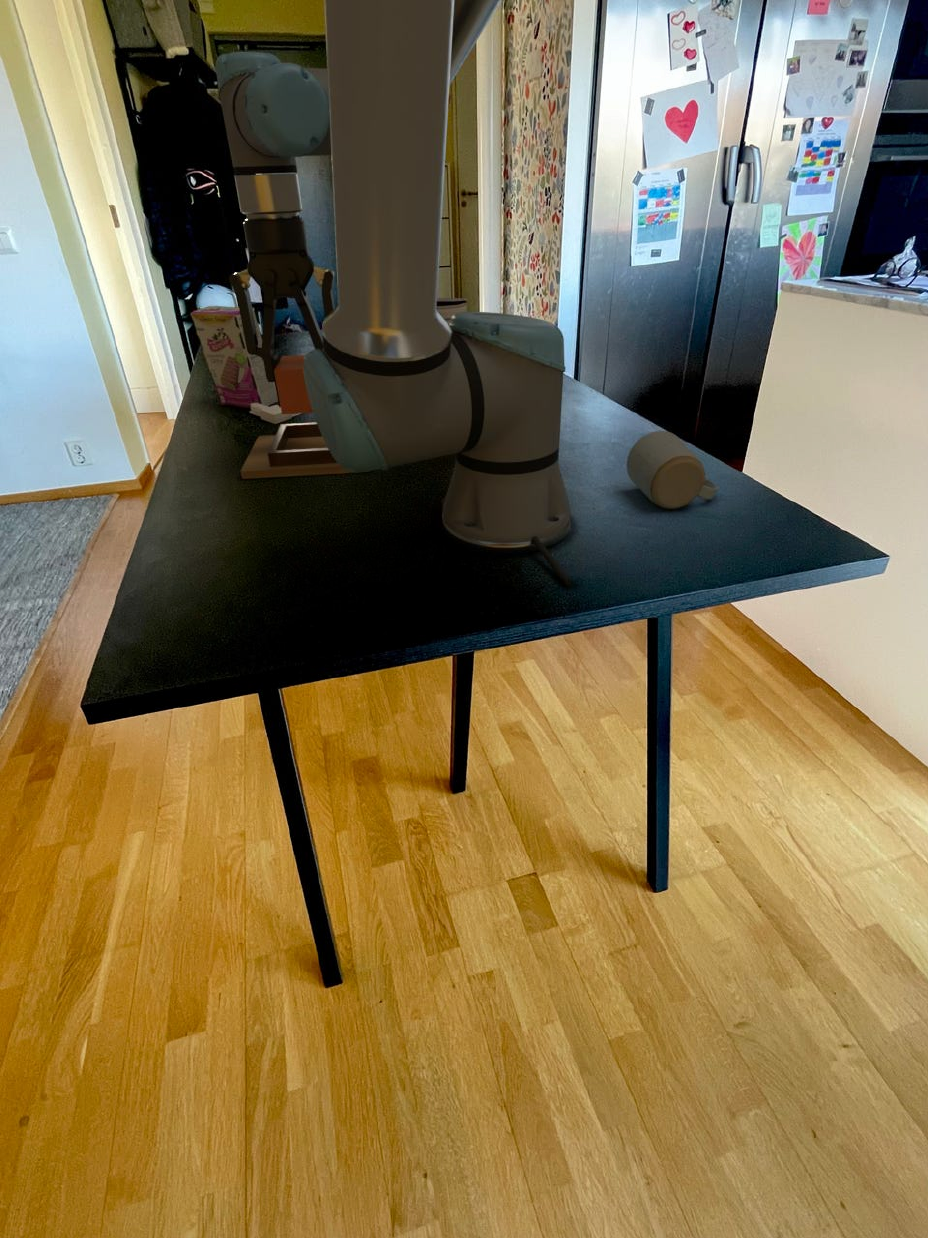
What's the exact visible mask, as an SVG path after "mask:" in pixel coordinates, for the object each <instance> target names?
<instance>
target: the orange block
mask: <svg viewBox="0 0 928 1238" xmlns="http://www.w3.org/2000/svg"><path fill="white" fill-rule="evenodd" d="M305 355H306V354H297V355H295V354H293V355H292V354H291V355H282V356H281V357H280V361H279V363H278V365H277V366H276V368H275V370H274V373H275V379H276V384H277V390H278V395H279V401H280V406H281V412H282V414H298V413H302V414H314V413H313V410H312V407H311V404H310V400H309V397H308V393H307V389H306V384H305V379H304V373H303V363H304V357H305Z"/></svg>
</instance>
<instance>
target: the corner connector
mask: <svg viewBox="0 0 928 1238" xmlns="http://www.w3.org/2000/svg"><path fill="white" fill-rule="evenodd" d="M250 405H251V408H250V411H248V412H249V413H250V414H252V415H255V416H258V417H260V419H261V420H263V421H266V422H269V423H271V424H274V425H276V424H279V423H280V424H281V423H282V422H285V421H289V420H291V419H292V417H295V416H298V415H301V414H303V413H298V414H282V412H281V407H279V404H274V405H272V406H270V407H268V406H265V405H262V404H259V403H252V404H250Z"/></svg>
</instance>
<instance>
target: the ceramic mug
mask: <svg viewBox="0 0 928 1238" xmlns="http://www.w3.org/2000/svg"><path fill="white" fill-rule="evenodd" d="M626 471H627V475H628V477H629V479H630V480H631V482H632V483H634V485H635V486H636V487H637V488H638V489H639V490H640V491H641V492H642V493H643V494H644V495H645V496H646V497H647V499H649V500H650V501H651V502H652V503H653V504H654V505H656V506H658V507H660V508H663V509H669V510H670V509H671V510H673V509H679V508H682V507H684V506H686V505H689V504H690V503H691V502H693V501H694V499H696V498H697V497H698V498H700V499H704V500H706V501H707V500H708V501H709V500H712V499H713V498H714V497H715V495H716V494H717V492H718V490H719V487H718V486H717V485H716V484H715V483H714V482H713V481H711V480H710V479H709V478H707V477H706V473H705V468H704V466H703V464H702V462H701V460H700V459H699V457H698V456H697V455H696V454H695V453H694V451H692V450H691V449H690V448H689V447H688V446H687V445H686V444H685V443H684V442H683V441H682V440H681V439H680V437H678V436H677V435H676V434H675V433H672V432H670V431H668V430H656V431H652V432H649V433H647V434H645V435H643V436H641V437H640V439H638V440H637V441H635V444H633V445H632V447H631V449H630V450H629V452H628V456H627V459H626Z"/></svg>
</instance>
